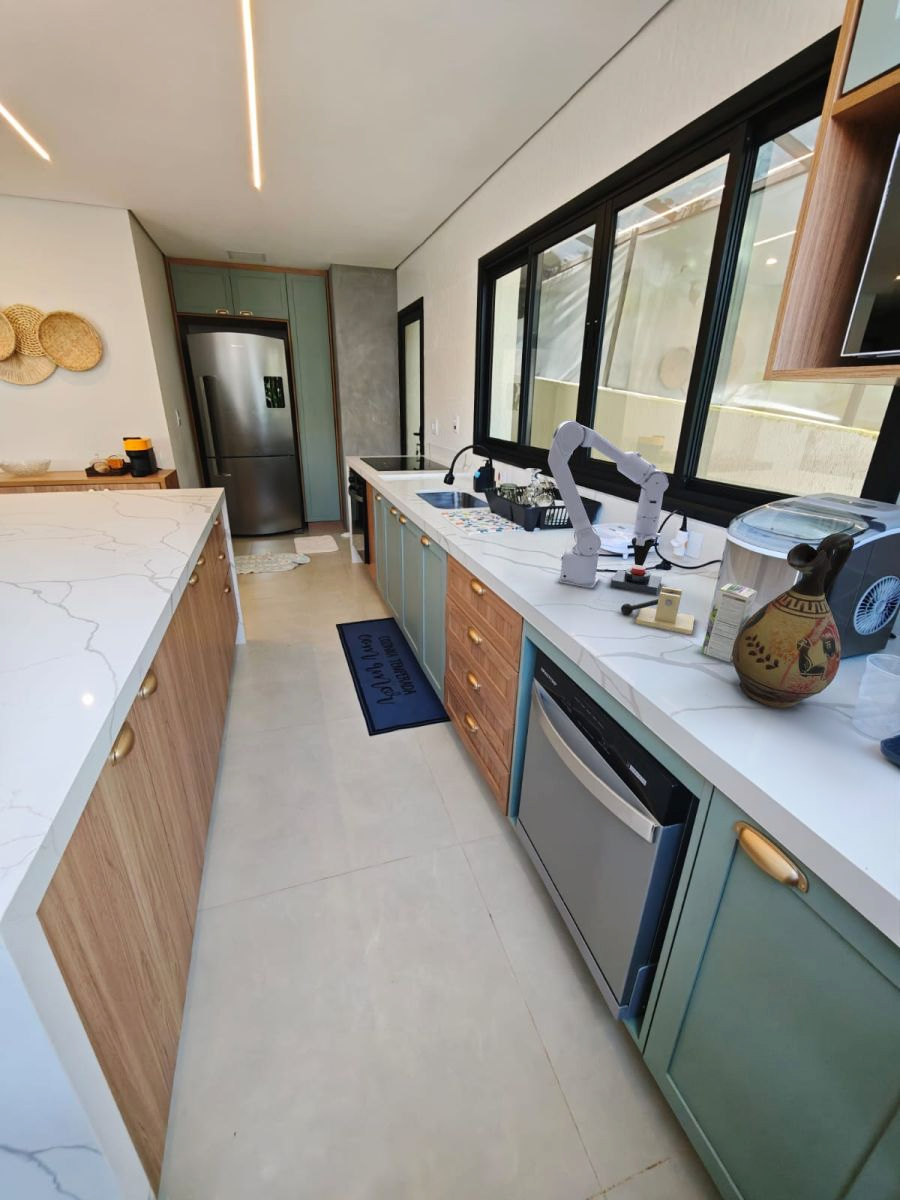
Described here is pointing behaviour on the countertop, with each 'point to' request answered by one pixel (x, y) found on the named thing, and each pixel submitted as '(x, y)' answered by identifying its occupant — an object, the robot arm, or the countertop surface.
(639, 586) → the block
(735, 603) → the syrup box
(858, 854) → the countertop surface
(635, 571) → the button
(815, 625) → the ceramic jug
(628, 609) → the lever
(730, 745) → the countertop surface
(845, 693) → the countertop surface
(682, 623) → the cream lever stand
